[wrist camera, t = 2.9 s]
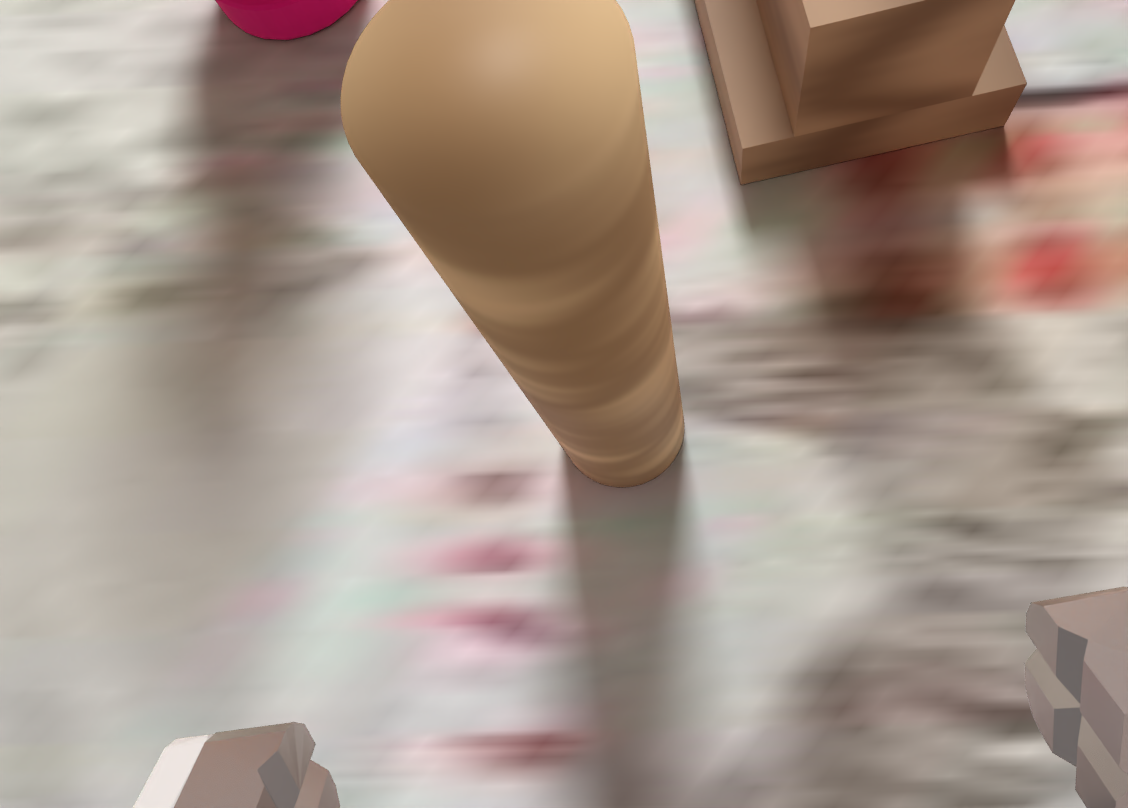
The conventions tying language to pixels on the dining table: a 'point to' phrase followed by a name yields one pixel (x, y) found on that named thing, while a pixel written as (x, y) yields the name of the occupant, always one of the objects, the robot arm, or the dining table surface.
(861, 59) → the stepped base
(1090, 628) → the robot arm
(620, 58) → the dowel
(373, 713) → the dining table surface
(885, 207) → the dining table surface
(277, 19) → the pepper mill
